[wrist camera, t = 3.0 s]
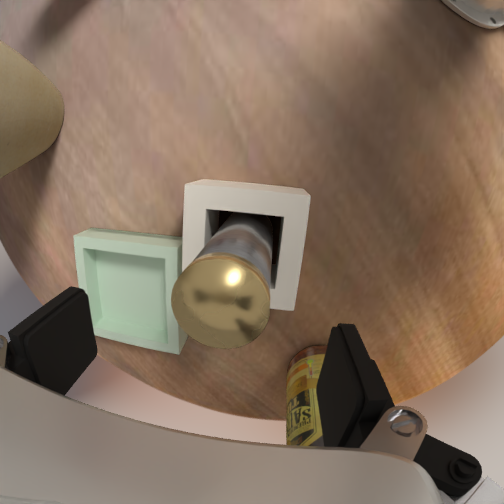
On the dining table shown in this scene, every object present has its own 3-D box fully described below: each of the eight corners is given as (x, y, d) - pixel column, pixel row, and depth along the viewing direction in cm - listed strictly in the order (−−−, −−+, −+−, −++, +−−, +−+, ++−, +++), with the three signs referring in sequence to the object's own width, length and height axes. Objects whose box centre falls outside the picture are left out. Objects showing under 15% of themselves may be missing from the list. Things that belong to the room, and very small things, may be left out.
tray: (188, 237, 25) (177, 247, 22) (187, 336, 28) (179, 354, 25) (91, 227, 25) (73, 235, 22) (100, 319, 28) (87, 332, 26)
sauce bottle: (290, 339, 27) (294, 550, 8) (353, 343, 27) (410, 534, 8) (281, 388, 29) (275, 567, 10) (338, 391, 29) (365, 560, 10)
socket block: (303, 188, 23) (310, 196, 18) (291, 282, 25) (293, 311, 21) (203, 179, 23) (184, 184, 18) (198, 272, 26) (182, 297, 21)
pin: (276, 210, 24) (275, 266, 11) (270, 258, 25) (263, 354, 12) (225, 204, 24) (170, 254, 11) (222, 253, 25) (172, 340, 13)
